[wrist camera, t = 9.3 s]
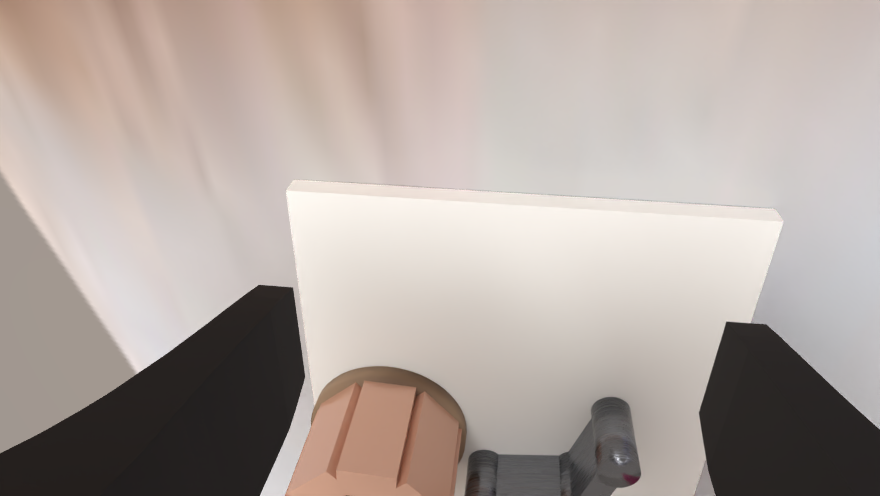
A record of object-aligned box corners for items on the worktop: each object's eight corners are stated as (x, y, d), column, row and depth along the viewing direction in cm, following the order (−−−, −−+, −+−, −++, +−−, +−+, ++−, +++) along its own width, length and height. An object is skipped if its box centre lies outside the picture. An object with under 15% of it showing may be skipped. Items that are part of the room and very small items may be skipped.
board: (775, 208, 20) (783, 221, 19) (671, 535, 28) (675, 552, 27) (293, 179, 21) (285, 190, 21) (332, 497, 30) (328, 513, 29)
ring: (465, 393, 23) (454, 486, 20) (455, 492, 26) (443, 588, 23) (315, 374, 24) (279, 462, 20) (321, 473, 27) (290, 565, 23)
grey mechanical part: (633, 398, 23) (644, 461, 21) (613, 486, 26) (621, 551, 23) (471, 384, 24) (464, 443, 22) (467, 471, 26) (461, 533, 24)
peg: (468, 373, 24) (454, 491, 19) (464, 482, 27) (451, 605, 22) (308, 359, 24) (259, 470, 20) (322, 467, 27) (282, 584, 23)
